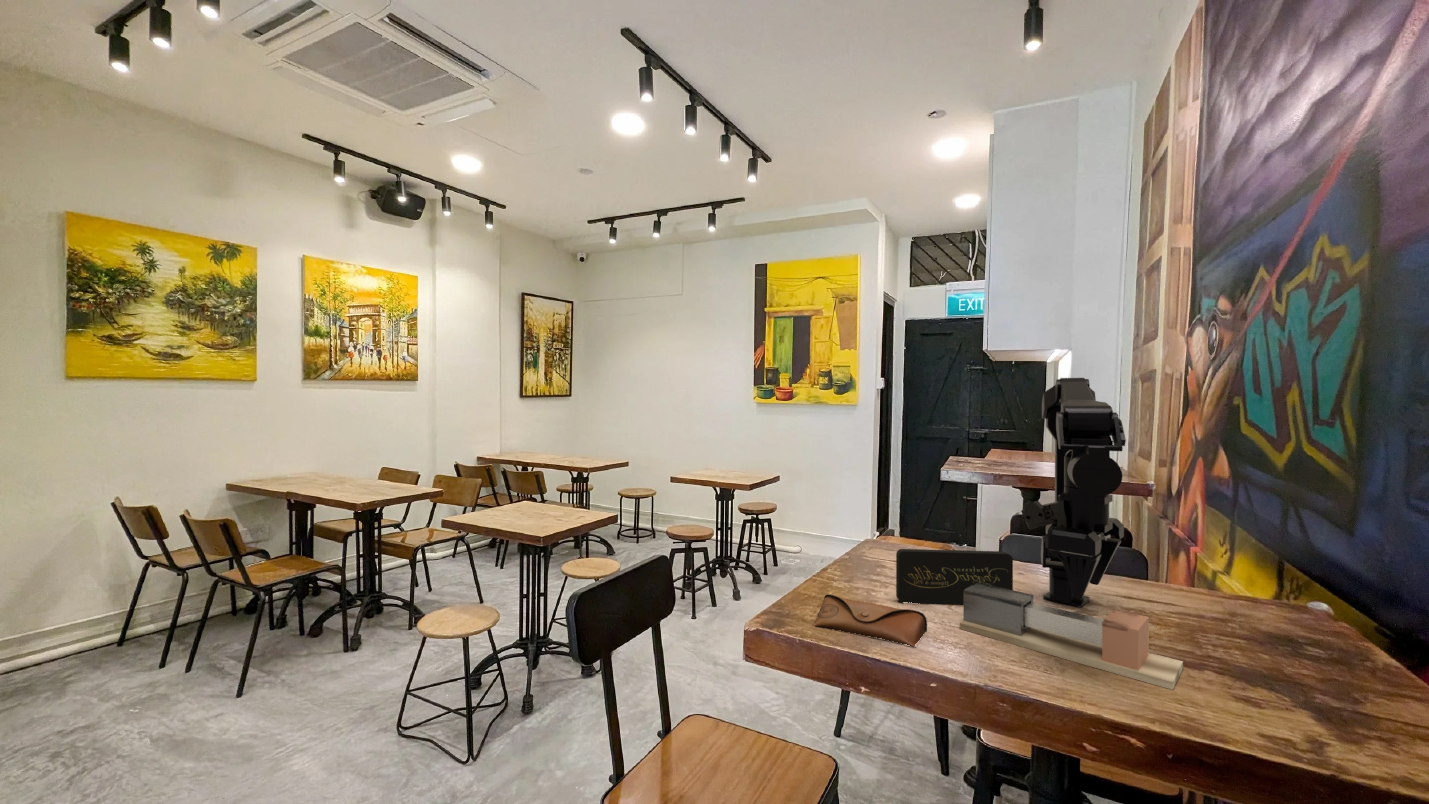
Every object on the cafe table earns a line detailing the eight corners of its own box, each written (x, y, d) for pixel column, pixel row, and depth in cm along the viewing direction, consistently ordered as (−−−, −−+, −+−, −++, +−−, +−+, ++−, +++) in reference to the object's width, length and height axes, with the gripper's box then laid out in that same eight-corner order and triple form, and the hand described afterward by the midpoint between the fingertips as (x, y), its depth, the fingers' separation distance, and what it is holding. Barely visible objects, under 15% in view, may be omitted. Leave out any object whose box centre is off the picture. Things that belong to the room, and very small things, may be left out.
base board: (981, 615, 101) (981, 609, 101) (1183, 668, 81) (1182, 661, 81) (959, 628, 95) (959, 622, 95) (1172, 689, 74) (1172, 682, 74)
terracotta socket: (1114, 645, 86) (1114, 609, 86) (1148, 654, 83) (1148, 617, 83) (1102, 660, 81) (1102, 621, 81) (1138, 670, 78) (1138, 630, 78)
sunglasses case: (807, 625, 95) (814, 586, 98) (819, 634, 100) (825, 597, 104) (919, 649, 86) (923, 604, 90) (925, 657, 92) (929, 615, 95)
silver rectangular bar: (1008, 615, 95) (1008, 597, 95) (1132, 646, 82) (1132, 626, 82) (1002, 619, 93) (1002, 601, 93) (1128, 652, 80) (1128, 631, 80)
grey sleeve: (977, 611, 100) (977, 582, 100) (1033, 626, 93) (1033, 594, 93) (963, 620, 96) (963, 589, 96) (1020, 636, 89) (1020, 603, 89)
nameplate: (1008, 604, 107) (1008, 551, 107) (1012, 607, 105) (1012, 554, 105) (896, 600, 109) (896, 548, 109) (898, 603, 107) (898, 551, 107)
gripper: (1046, 477, 98) (1046, 567, 97) (1007, 487, 85) (1007, 591, 85) (1124, 484, 90) (1124, 582, 89) (1094, 495, 77) (1094, 610, 77)
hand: (1086, 590), depth 85 cm, fingers open, 9 cm apart
